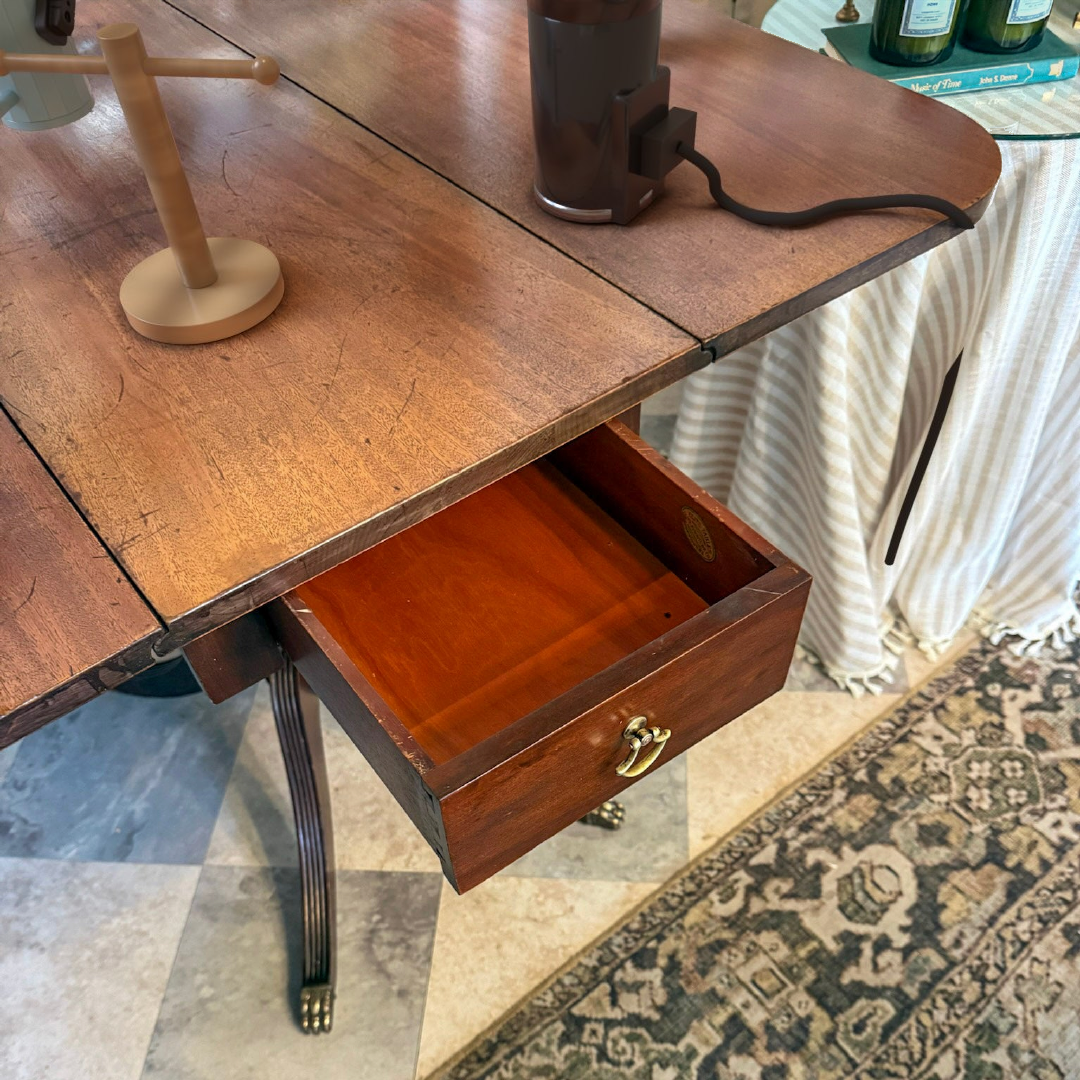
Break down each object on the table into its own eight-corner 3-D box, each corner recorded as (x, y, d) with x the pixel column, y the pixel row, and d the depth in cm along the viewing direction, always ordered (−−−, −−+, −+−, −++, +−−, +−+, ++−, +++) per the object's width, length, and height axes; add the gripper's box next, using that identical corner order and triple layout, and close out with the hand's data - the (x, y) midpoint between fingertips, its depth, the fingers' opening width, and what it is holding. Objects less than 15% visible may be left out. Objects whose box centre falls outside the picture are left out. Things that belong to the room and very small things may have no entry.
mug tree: (354, 261, 73) (302, -3, 60) (307, 353, 66) (235, 75, 53) (118, 248, 76) (17, -8, 62) (47, 335, 68) (-84, 66, 55)
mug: (30, 89, 69) (-30, -55, 63) (110, 92, 69) (58, -54, 62) (-48, 158, 63) (-124, 5, 56) (40, 162, 62) (-27, 7, 55)
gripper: (-139, -288, 58) (-152, 8, 59) (89, -293, 56) (72, 12, 57) (-46, -199, 66) (-59, 62, 67) (158, -202, 64) (142, 68, 65)
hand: (1, 38), depth 62 cm, fingers closed on mug, 6 cm apart
